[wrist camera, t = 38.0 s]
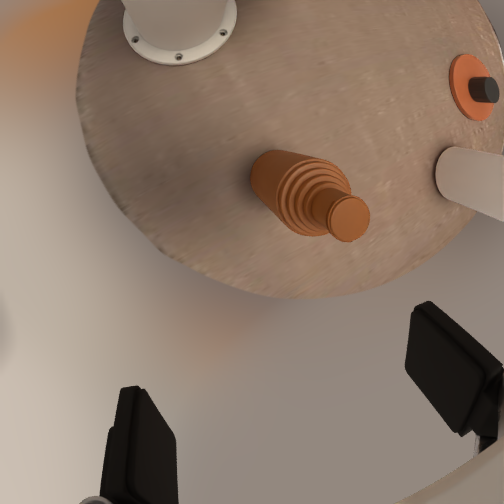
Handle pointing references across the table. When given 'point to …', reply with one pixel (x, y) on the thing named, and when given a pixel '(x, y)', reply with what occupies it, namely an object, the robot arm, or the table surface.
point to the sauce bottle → (309, 195)
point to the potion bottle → (472, 179)
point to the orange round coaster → (459, 79)
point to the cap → (483, 89)
